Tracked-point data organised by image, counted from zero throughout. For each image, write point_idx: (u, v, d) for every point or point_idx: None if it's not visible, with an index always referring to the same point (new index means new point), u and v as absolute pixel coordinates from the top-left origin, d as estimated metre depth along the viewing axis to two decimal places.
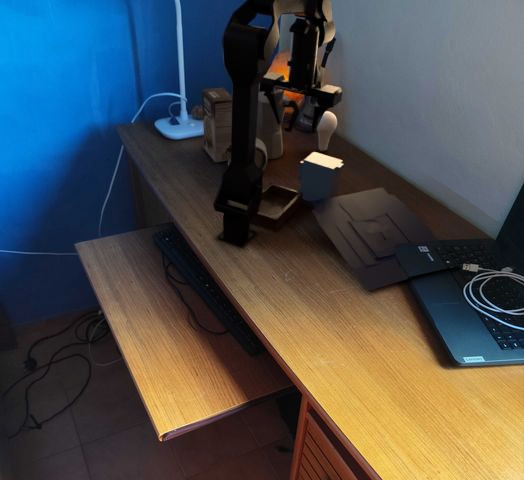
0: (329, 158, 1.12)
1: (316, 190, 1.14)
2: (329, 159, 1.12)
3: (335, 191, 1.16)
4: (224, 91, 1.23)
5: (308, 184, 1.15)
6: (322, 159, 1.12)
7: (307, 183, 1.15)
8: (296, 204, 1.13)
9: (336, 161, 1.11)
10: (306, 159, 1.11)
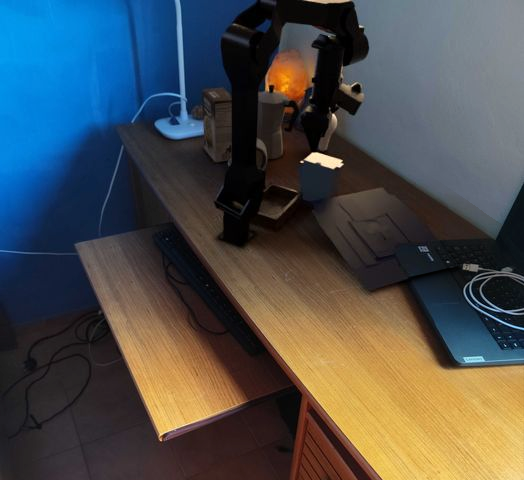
0: (329, 158, 1.12)
1: (316, 190, 1.14)
2: (329, 159, 1.12)
3: (335, 191, 1.16)
4: (224, 91, 1.23)
5: (308, 184, 1.15)
6: (322, 159, 1.12)
7: (307, 183, 1.15)
8: (296, 204, 1.13)
9: (336, 161, 1.11)
10: (306, 159, 1.11)
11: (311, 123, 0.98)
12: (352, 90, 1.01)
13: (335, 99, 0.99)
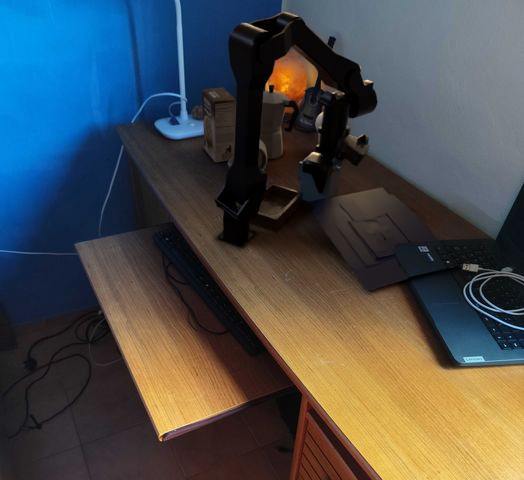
0: None
1: (315, 190, 1.14)
2: None
3: (334, 191, 1.16)
4: (224, 91, 1.23)
5: (308, 185, 1.14)
6: None
7: (306, 184, 1.14)
8: (296, 204, 1.13)
9: (335, 162, 1.11)
10: None
11: (311, 171, 1.04)
12: (357, 142, 1.05)
13: (338, 150, 1.04)
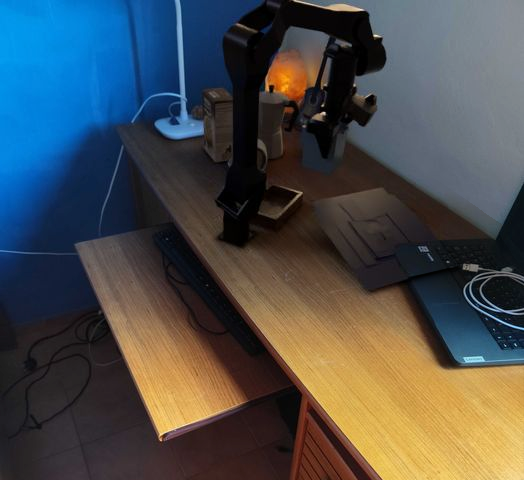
0: None
1: (319, 156, 1.08)
2: None
3: (339, 158, 1.09)
4: (224, 91, 1.23)
5: (311, 150, 1.08)
6: None
7: (310, 149, 1.08)
8: (296, 204, 1.13)
9: (340, 125, 1.04)
10: None
11: (316, 131, 0.97)
12: (365, 101, 0.99)
13: (345, 109, 0.98)
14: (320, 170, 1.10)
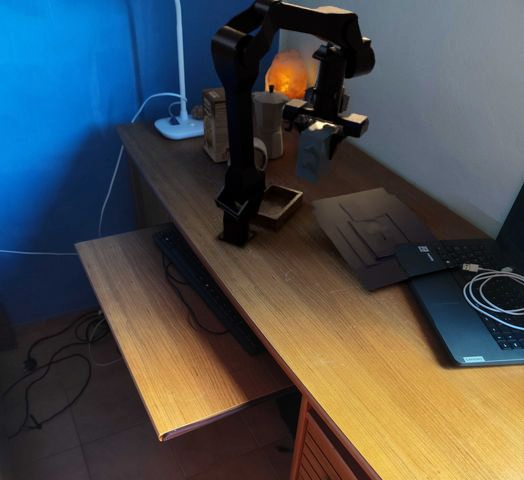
0: (315, 127, 1.03)
1: (327, 161, 1.06)
2: (317, 127, 1.03)
3: None
4: (224, 91, 1.23)
5: (323, 162, 1.05)
6: (318, 130, 1.02)
7: (322, 161, 1.04)
8: (296, 204, 1.13)
9: (322, 125, 1.04)
10: (321, 138, 1.00)
11: (363, 131, 0.99)
12: None
13: (344, 103, 1.01)
14: (326, 173, 1.09)
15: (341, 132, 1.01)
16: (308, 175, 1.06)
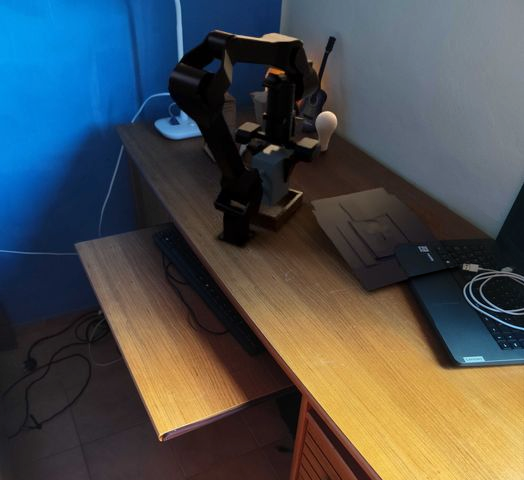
0: (268, 150, 1.03)
1: (282, 184, 1.06)
2: (271, 150, 1.03)
3: None
4: None
5: (277, 185, 1.04)
6: (270, 154, 1.01)
7: (276, 185, 1.04)
8: (296, 204, 1.13)
9: (276, 148, 1.04)
10: (273, 162, 0.99)
11: (315, 155, 0.99)
12: None
13: (296, 127, 1.00)
14: (282, 196, 1.09)
15: (293, 156, 1.00)
16: (262, 198, 1.06)
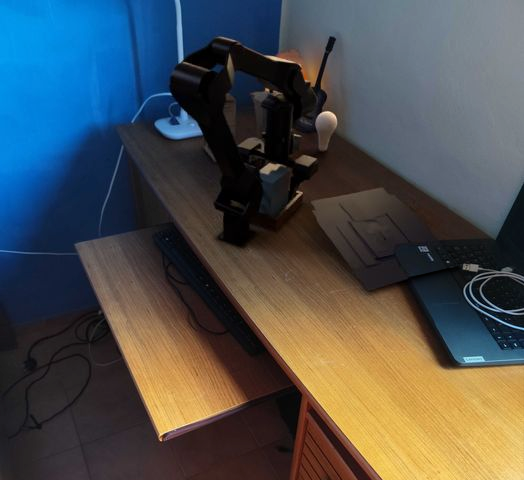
0: (266, 169, 1.06)
1: (280, 201, 1.09)
2: (269, 169, 1.06)
3: None
4: None
5: (276, 202, 1.07)
6: (268, 173, 1.05)
7: (275, 202, 1.07)
8: (296, 204, 1.13)
9: (274, 166, 1.07)
10: (271, 181, 1.02)
11: (313, 172, 1.01)
12: None
13: (294, 145, 1.03)
14: None
15: None
16: None
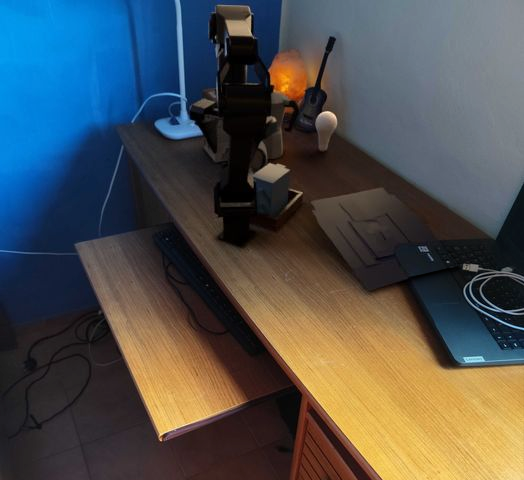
0: (266, 169, 1.06)
1: (280, 201, 1.09)
2: (269, 169, 1.06)
3: None
4: None
5: (276, 202, 1.07)
6: (268, 173, 1.05)
7: (275, 202, 1.07)
8: (296, 204, 1.13)
9: (274, 166, 1.07)
10: (271, 181, 1.02)
11: (270, 132, 0.96)
12: None
13: None
14: None
15: None
16: None
